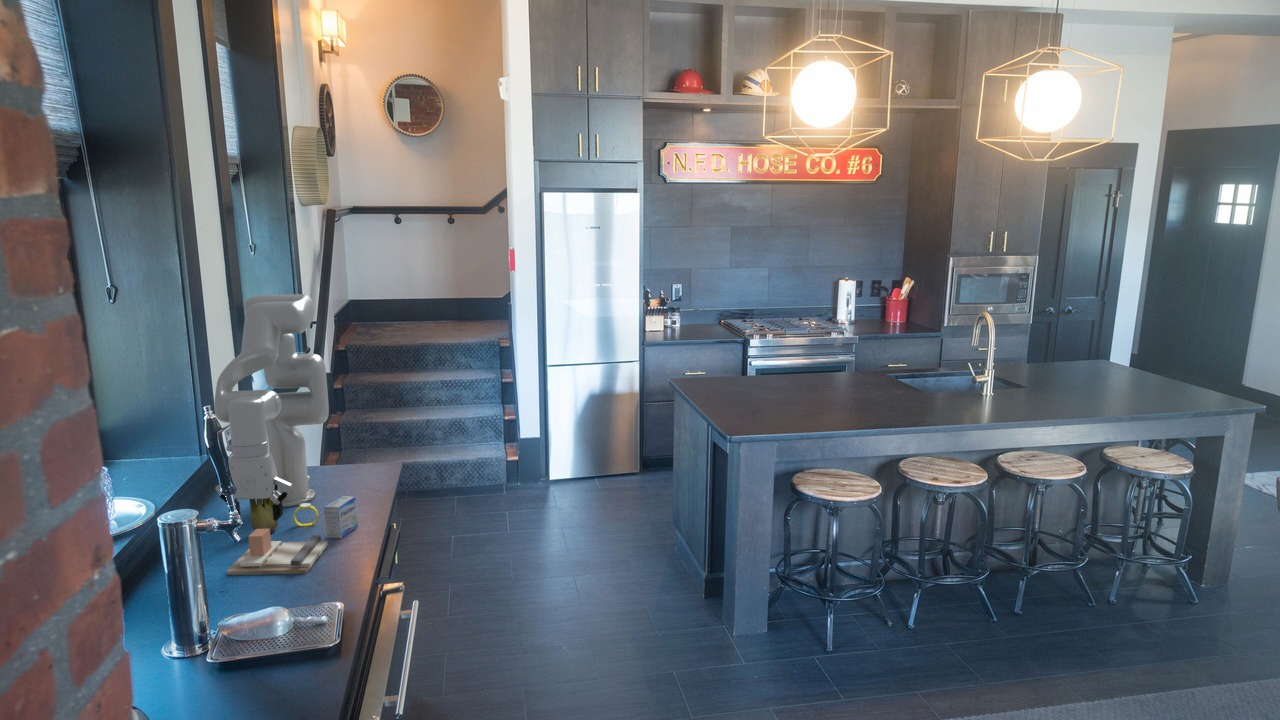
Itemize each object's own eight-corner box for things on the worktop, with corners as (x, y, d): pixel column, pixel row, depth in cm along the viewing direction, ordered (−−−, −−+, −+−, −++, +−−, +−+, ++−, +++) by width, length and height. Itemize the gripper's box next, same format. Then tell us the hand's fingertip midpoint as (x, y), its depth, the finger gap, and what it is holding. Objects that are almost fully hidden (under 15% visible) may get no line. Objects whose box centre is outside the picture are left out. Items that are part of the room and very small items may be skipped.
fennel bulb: (251, 537, 202) (246, 493, 200) (256, 529, 207) (252, 486, 205) (275, 535, 203) (271, 491, 201) (280, 527, 208) (275, 484, 206)
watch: (318, 523, 212) (318, 502, 211) (317, 527, 209) (317, 506, 208) (294, 524, 210) (294, 503, 209) (293, 528, 207) (292, 507, 206)
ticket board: (255, 546, 196) (253, 535, 196) (330, 545, 197) (329, 534, 197) (227, 575, 182) (225, 563, 181) (308, 573, 183) (307, 561, 182)
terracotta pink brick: (261, 544, 195) (259, 522, 194) (281, 543, 195) (279, 522, 194) (240, 566, 183) (237, 543, 182) (261, 566, 183) (258, 543, 182)
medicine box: (341, 539, 201) (339, 507, 199) (325, 538, 202) (323, 506, 200) (358, 527, 209) (356, 496, 207) (343, 525, 209) (340, 495, 208)
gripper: (204, 455, 179) (212, 525, 182) (281, 453, 180) (287, 524, 183) (220, 445, 187) (227, 514, 190) (294, 444, 188) (300, 512, 191)
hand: (257, 519), depth 187 cm, fingers open, 9 cm apart
